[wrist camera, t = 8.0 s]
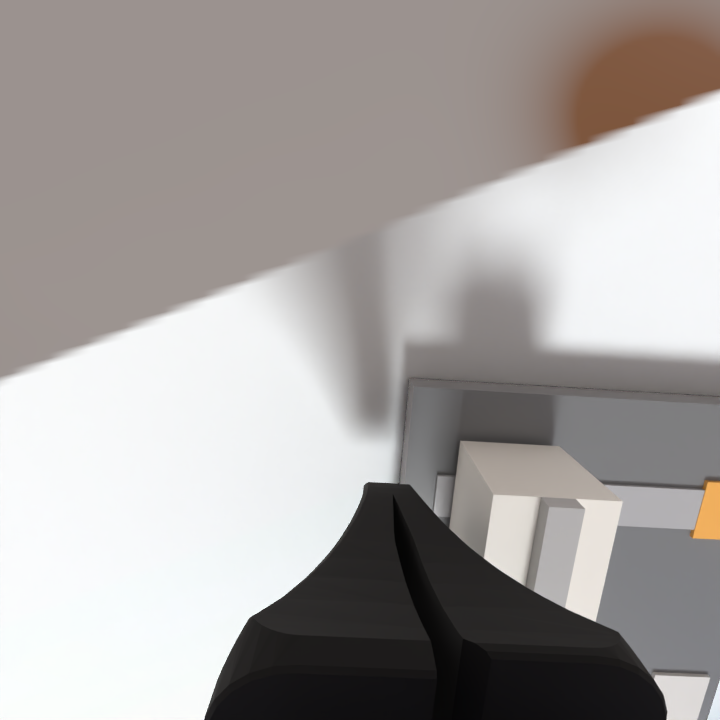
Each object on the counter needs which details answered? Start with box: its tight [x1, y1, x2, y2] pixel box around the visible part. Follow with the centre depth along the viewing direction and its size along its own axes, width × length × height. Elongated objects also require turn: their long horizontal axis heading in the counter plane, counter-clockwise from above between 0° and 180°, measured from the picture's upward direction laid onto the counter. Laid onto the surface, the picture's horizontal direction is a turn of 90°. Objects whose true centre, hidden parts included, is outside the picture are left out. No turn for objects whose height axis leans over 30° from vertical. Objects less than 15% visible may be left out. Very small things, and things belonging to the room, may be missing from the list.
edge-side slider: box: [449, 441, 623, 622], centre depth 11 cm, size 3×4×3 cm
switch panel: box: [399, 378, 720, 720], centre depth 15 cm, size 12×22×1 cm, turn 176°
